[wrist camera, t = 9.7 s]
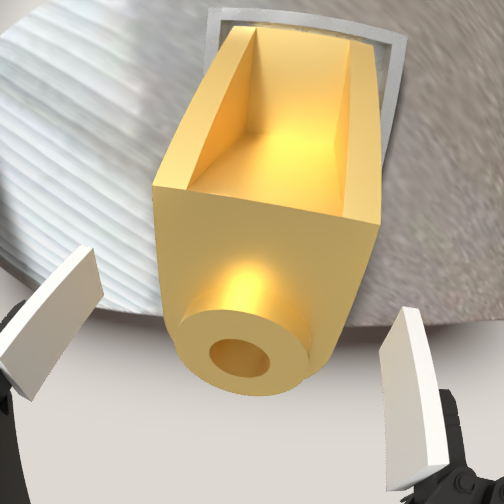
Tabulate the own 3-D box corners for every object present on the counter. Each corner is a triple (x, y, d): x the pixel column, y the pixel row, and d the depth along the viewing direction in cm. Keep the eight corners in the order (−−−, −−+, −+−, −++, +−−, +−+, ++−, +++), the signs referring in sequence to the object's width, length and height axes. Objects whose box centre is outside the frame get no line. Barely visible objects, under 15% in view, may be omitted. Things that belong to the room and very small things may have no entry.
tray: (207, 271, 35) (197, 291, 32) (222, 14, 21) (208, 7, 18) (334, 296, 34) (334, 319, 31) (396, 39, 19) (407, 36, 16)
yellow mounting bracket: (321, 265, 30) (309, 417, 17) (227, 247, 31) (162, 383, 18) (366, 48, 19) (439, 22, 6) (244, 30, 20) (135, -8, 7)
